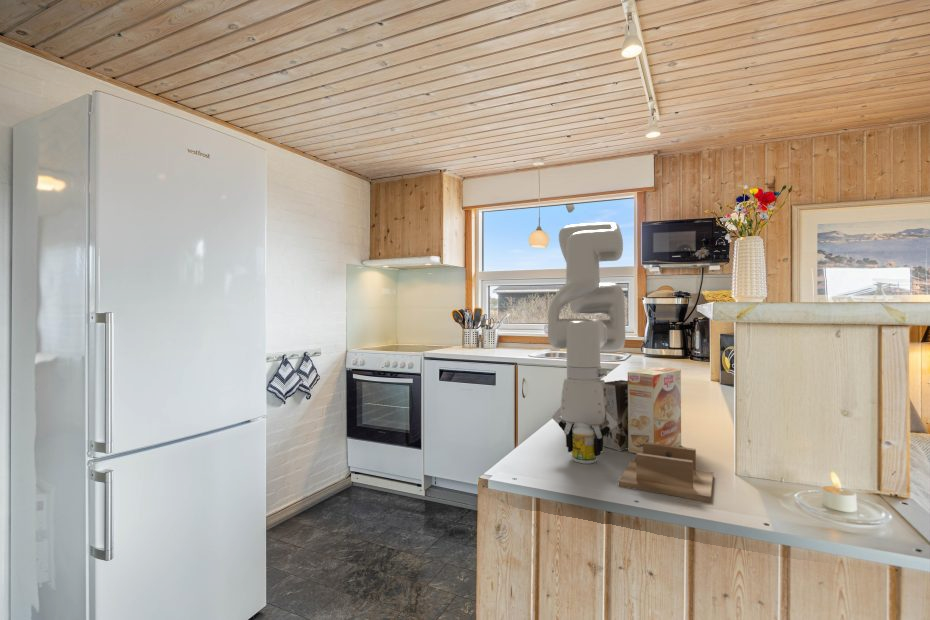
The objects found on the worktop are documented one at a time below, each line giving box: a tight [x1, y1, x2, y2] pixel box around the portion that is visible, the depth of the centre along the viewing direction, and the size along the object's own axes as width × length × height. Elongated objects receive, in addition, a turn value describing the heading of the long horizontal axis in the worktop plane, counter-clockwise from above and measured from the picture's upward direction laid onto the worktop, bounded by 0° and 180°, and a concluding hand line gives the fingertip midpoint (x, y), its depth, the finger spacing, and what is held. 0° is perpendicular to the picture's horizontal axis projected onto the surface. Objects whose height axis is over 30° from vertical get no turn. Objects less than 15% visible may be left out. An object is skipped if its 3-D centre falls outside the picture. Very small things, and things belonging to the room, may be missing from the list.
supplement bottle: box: [572, 423, 598, 465], centre depth 105 cm, size 5×5×10 cm
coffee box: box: [602, 379, 628, 452], centre depth 117 cm, size 9×6×16 cm
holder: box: [617, 442, 714, 503], centre depth 92 cm, size 14×16×6 cm
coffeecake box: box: [627, 366, 682, 455], centre depth 113 cm, size 15×7×20 cm, turn 132°
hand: (584, 451), depth 105 cm, fingers closed on supplement bottle, 5 cm apart
